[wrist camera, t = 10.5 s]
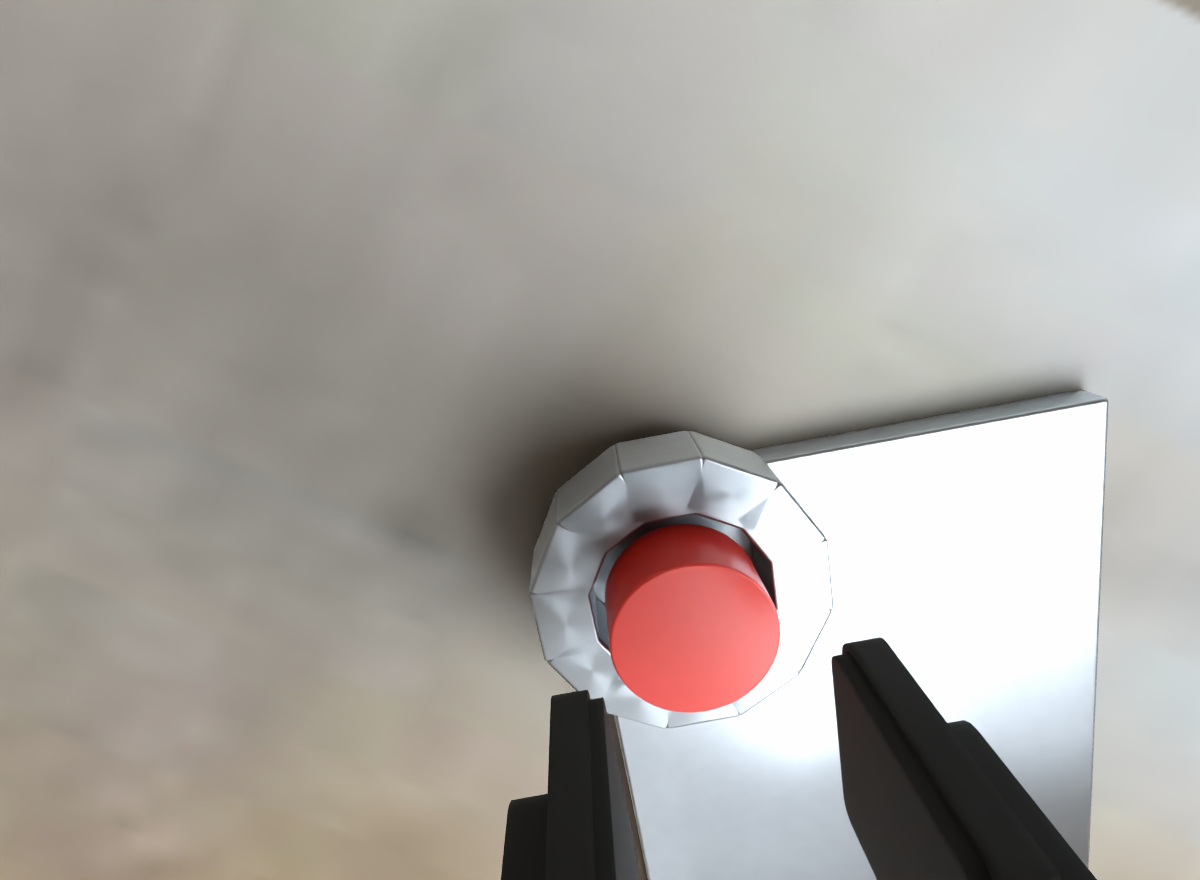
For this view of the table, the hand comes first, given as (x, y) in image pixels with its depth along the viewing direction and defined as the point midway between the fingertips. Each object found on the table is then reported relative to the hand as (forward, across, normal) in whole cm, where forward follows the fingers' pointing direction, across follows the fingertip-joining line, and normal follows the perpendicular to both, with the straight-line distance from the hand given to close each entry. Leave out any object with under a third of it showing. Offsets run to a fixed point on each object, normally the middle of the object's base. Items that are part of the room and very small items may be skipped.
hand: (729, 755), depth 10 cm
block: (+8, -4, +6) cm, 11 cm away
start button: (+5, 0, 0) cm, 5 cm away
